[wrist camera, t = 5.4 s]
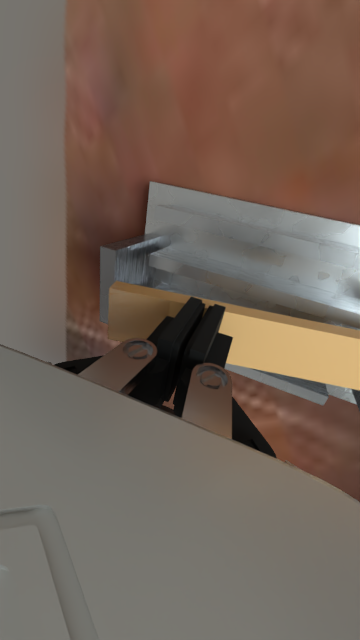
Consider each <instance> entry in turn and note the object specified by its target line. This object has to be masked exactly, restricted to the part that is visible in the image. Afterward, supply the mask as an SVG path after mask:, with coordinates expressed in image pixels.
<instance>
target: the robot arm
mask: <svg viewBox="0 0 360 640" xmlns="http://www.w3.org/2000/svg"><path fill="white" fill-rule="evenodd" d="M204 309H205V304H204V303H202V300H201V299H198V298H195V297H190V299H189V300H188V301H187V302H186V304H185V305H184V306H183V307H182V309H181V310H180V311H179V312H178V314H177V315H176V316H175V317H174V318H173V317H170V316H166V317H165V318H164V320H163V321H162V322H161V323H160V324H159V325H158V327H157V328H156V329H155V330H154V331H153V332H152V333H151V335H150V336H149V337H148V338H147V339H142V338H132V339H128V340H126V341H124V342H122V343H121V344H119V345H118V346H117V347H115V348H114V349H112V350H111V351H110V352H108V353H107V354H106V355H104V356H98V357H92V358H86V359H79V360H73V361H67V362H62V363H58V364H55V365H52V364H51V363H50V362H45V361H42V360H40V359H37V358H35V357H32V356H30V355H28V354H25V353H23V352H20V351H17V350H14V349H12V348H8V347H6V346H3V345H0V640H360V502H359V501H357V500H356V499H354V498H353V497H351V496H350V495H348V494H346V493H345V492H343V491H342V490H340V489H338V488H336V487H334V486H332V485H331V484H329V483H327V482H325V481H323V480H322V479H320V478H317V477H315V476H313V475H311V474H309V473H307V472H305V471H302V470H301V469H299V468H297V467H296V466H294V465H293V464H291V463H290V462H288V461H287V460H286V461H285V462H283V461H281V460H279V459H277V458H276V455H275V453H274V451H273V450H272V448H271V446H270V445H269V444H268V443H267V441H266V440H265V439H264V437H263V436H262V435H261V433H260V432H259V431H258V429H257V428H256V427H255V426H254V424H253V423H252V422H251V420H250V419H249V418H248V416H247V415H246V414H245V413H244V411H243V410H242V409H241V407H240V406H239V405H238V403H237V402H236V401H235V399H234V398H233V397H232V379H231V376H230V374H229V373H228V372H227V371H226V370H225V369H224V368H225V364H226V361H227V357H228V354H229V350H230V347H231V343H232V340H233V337H231V336H228V335H225V334H222V333H219V329H220V325H221V322H222V319H223V316H224V312H225V309H226V307H224V306H221V305H218V304H214V306H211V305H210V306H209V307H208V309H207V311H206V312H205V314H204V316H203V313H204ZM202 317H203V318H202ZM176 386H177V387H176ZM175 388H176V391H175V396H174V400H173V404H174V405H175V406H174V410H173V412H174V414H175V415H173V414H171V413H168V412H166V411H164V410H161V409H159V408H156V407H154V406H153V405H155V406H158V407H160V408H161V406H162V404H163V402H164V401H167V402H168V401H169V400H170V398H171V396H172V394H173V392H174V390H175Z"/></svg>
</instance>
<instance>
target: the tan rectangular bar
mask: <svg viewBox="0 0 360 640" xmlns="http://www.w3.org/2000/svg"><path fill="white" fill-rule="evenodd" d="M190 297H193V296H188V295H183V294H178V293H173V292H169V291H164V290H159V289H154V288H149V287H144V286H139V285H134V284H129V283H124V282H120V281H116V282H115V283H114V284H113V285H112V286H111V287H110V288H109V314H108V339H111V340H116V341H120V342H124V341H126V340H128V339H132V338H142V339H147V338H148V337H149V336H150V335H151V333H152V332H153V331H154V330H155V329H156V328H157V327H158V325H159V324H160V323H161V322H162V321H163V320H164V318H165V317H166V316H170V317H173V318H174V317H175V316H176V315H177V314H178V312H179V311H180V310H181V309H182V307H183V306H184V305H185V304H186V302H187V301H188V300H189V299H190ZM195 298H198V297H195ZM198 299H201V300H202V303H204V304H205V309H204V313H203V316H204V314H205V312H206V311H207V309H208V307H209V306H210V305H211V306H214V304H218V305H221V306H224V307H226V309H225V312H224V316H223V319H222V322H221V325H220V329H219V333H222V334H225V335H228V336H231V337H233V340H232V343H231V347H230V350H229V354H228V357H227V361H226V363H228V364H233V365H238V366H243V367H248V368H253V369H257V370H262V371H267V372H272V373H277V374H282V375H287V376H292V377H297V378H301V379H306V380H311V381H316V382H321V383H326V384H331V385H336V386H341V387H345V388H350V389H355V390H360V330H355V329H350V328H345V327H340V326H335V325H330V324H325V323H320V322H316V321H311V320H306V319H301V318H296V317H291V316H286V315H281V314H276V313H271V312H267V311H262V310H257V309H252V308H247V307H242V306H237V305H232V304H227V303H222V302H218V301H213V300H208V299H203V298H198ZM202 318H203V317H202Z"/></svg>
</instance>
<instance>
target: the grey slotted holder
mask: <svg viewBox="0 0 360 640" xmlns="http://www.w3.org/2000/svg"><path fill="white" fill-rule="evenodd" d="M116 281H120V282H124V283H129V284H134V285H139V286H144V287H149V288H154V289H159V290H164V291H169V292H173V293H178V294H183V295H188V296H193V297H198V298H203V299H208V300H213V301H218V302H222V303H227V304H232V305H237V306H242V307H247V308H252V309H257V310H262V311H267V312H271V313H276V314H281V315H286V316H291V317H296V318H301V319H306V320H311V321H316V322H320V323H325V324H330V325H335V326H340V327H345V328H350V329H355V330H360V225H358V224H354V223H349V222H344V221H339V220H335V219H330V218H325V217H320V216H316V215H311V214H306V213H301V212H297V211H292V210H287V209H283V208H278V207H273V206H268V205H264V204H259V203H254V202H249V201H245V200H240V199H235V198H230V197H226V196H221V195H216V194H212V193H207V192H202V191H197V190H193V189H188V188H183V187H178V186H174V185H169V184H164V183H158V182H151V181H150V186H149V196H148V207H147V217H146V227H145V234H144V235H141V236H137V237H133V238H129V239H126V240H122V241H118V242H114V243H111V244H107V245H103V246H100V321H101V322H103V323H106V324H108V314H109V288H110V287H111V286H112V285H113V284H114V283H115V282H116ZM225 369H227V370H230V371H233V372H235V373H238V374H241V375H243V376H246V377H249V378H251V379H254V380H257V381H259V382H262V383H265V384H267V385H270V386H273V387H275V388H278V389H281V390H283V391H286V392H289V393H291V394H294V395H297V396H299V397H302V398H305V399H307V400H310V401H313V402H315V403H318V404H321V405H324V403H325V402H326V400H327V399H328V394H329V395H332V396H335V397H338V398H340V399H343V400H346V401H349V402H352V403H354V404H357V406H358V408H359V411H360V390H355V389H350V388H345V387H341V386H336V385H331V384H326V383H321V382H316V381H311V380H306V379H301V378H297V377H292V376H287V375H282V374H277V373H272V372H267V371H262V370H257V369H253V368H248V367H243V366H238V365H233V364H228V363H226V364H225Z"/></svg>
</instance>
